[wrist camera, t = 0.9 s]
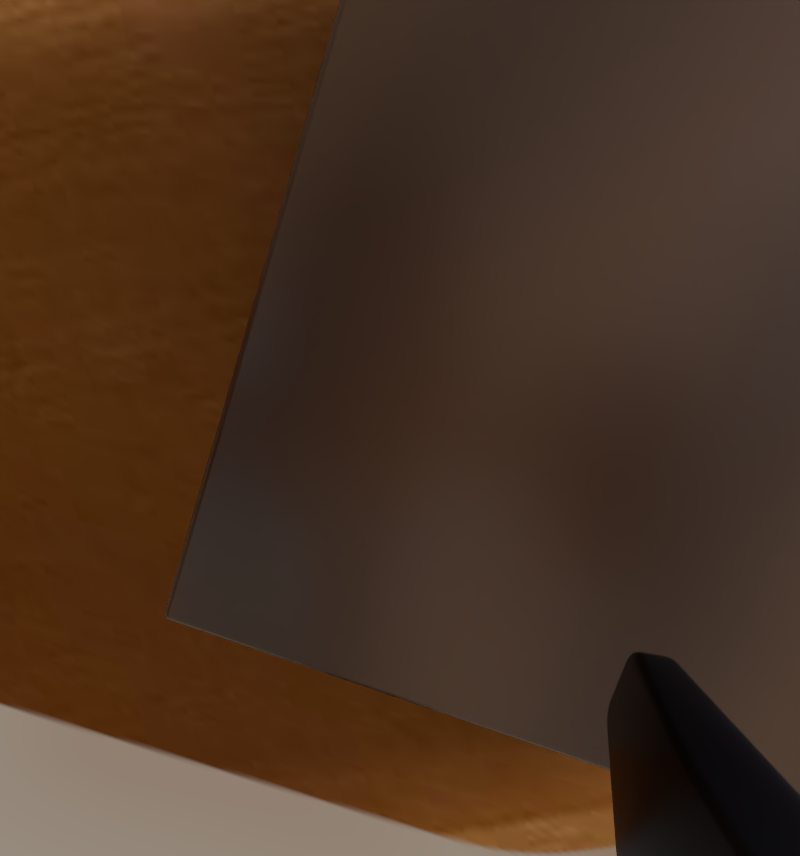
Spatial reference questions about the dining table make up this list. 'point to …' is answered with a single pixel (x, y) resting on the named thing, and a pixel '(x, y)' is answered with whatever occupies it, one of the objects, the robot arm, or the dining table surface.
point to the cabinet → (526, 370)
